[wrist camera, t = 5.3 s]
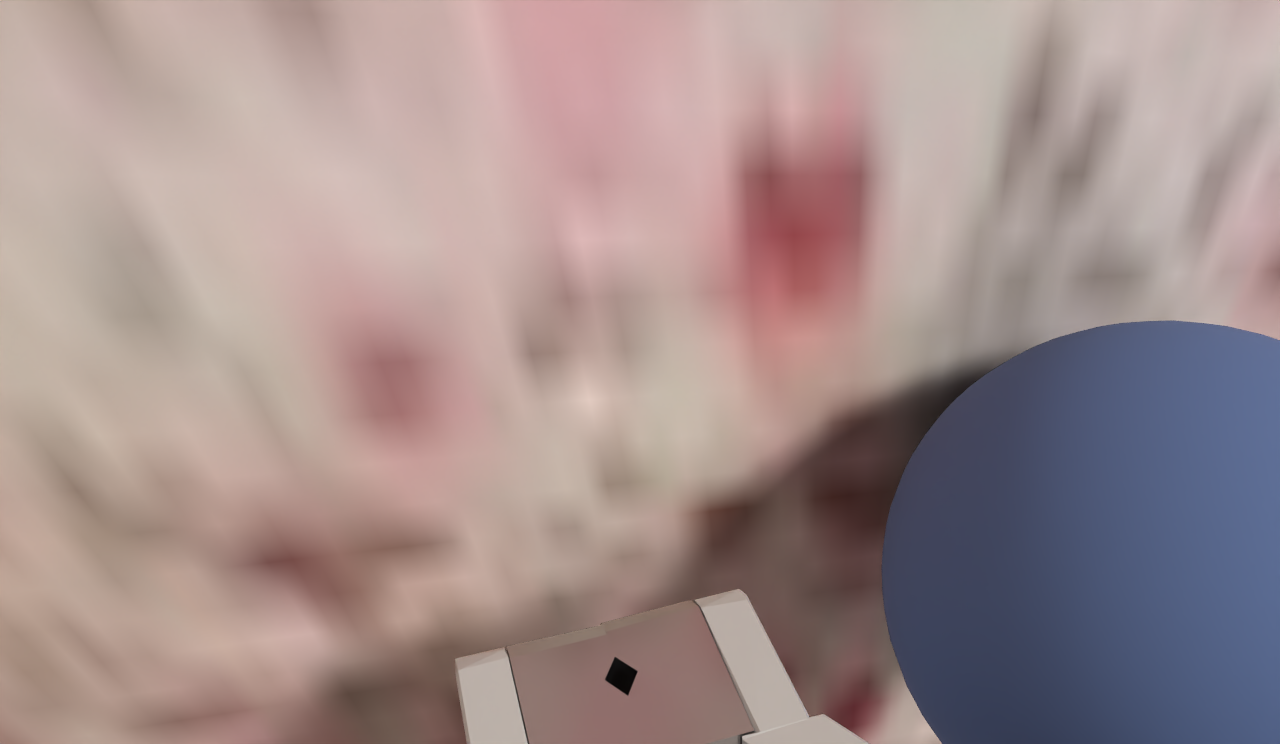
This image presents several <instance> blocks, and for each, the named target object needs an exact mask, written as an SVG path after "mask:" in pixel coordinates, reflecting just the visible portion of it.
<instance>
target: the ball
mask: <svg viewBox="0 0 1280 744" xmlns="http://www.w3.org/2000/svg"><path fill="white" fill-rule="evenodd" d="M882 591H883V601H884V610H885V616H886V621H887V626H888V630H889V635H890V640H891V643H892V646H893V649H894V652H895V655H896V657H897V660H898V663H899V666H900V668H901V671H902V674H903V677H904V679H905V682H906V685H907V687H908V689H909V691H910V693H911V695H912V696H913V698H914V700H915V702H916V704H917V706H918V708H919V710H920V711H921V713H922V715H923V717H924V718H925V720H926V721H927V723H928V724H929V726H930V727H931V729H932V730H933V731H934V733H935V734H936V735H937V737H938V738H939V740H940V741H941V742H942V744H1280V340H1277V339H1274V338H1271V337H1268V336H1265V335H1262V334H1258V333H1253V332H1249V331H1245V330H1241V329H1236V328H1232V327H1228V326H1220V325H1213V324H1205V323H1194V322H1182V321H1145V322H1131V323H1119V324H1113V325H1107V326H1100V327H1096V328H1092V329H1088V330H1084V331H1080V332H1076V333H1072V334H1069V335H1065V336H1062V337H1058V338H1055V339H1052V340H1050V341H1047V342H1045V343H1042V344H1040V345H1037V346H1035V347H1033V348H1031V349H1029V350H1027V351H1025V352H1023V353H1021V354H1019V355H1017V356H1015V357H1013V358H1011V359H1010V360H1008V361H1006V362H1004V363H1003V364H1001V365H1000V366H998V367H996V368H995V369H993V370H992V371H990V372H988V373H987V374H986V375H984V376H983V377H982V378H980V379H979V380H977V381H976V382H975V383H973V384H972V385H971V386H970V387H969V388H967V389H966V390H965V391H964V392H963V393H962V394H961V395H960V396H958V397H957V398H956V399H955V400H954V401H953V402H952V403H951V404H950V405H949V407H948V408H947V409H946V410H945V411H944V412H943V413H942V414H941V415H940V417H939V418H938V419H937V420H936V422H935V423H934V424H933V425H932V427H931V428H930V429H929V430H928V432H927V433H926V434H925V436H924V437H923V439H922V440H921V442H920V443H919V445H918V446H917V448H916V449H915V451H914V452H913V454H912V456H911V458H910V460H909V462H908V464H907V466H906V468H905V470H904V472H903V474H902V477H901V480H900V482H899V485H898V488H897V490H896V493H895V496H894V499H893V501H892V504H891V507H890V511H889V515H888V520H887V524H886V530H885V537H884V544H883V554H882Z"/></svg>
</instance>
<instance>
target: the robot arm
mask: <svg viewBox="0 0 1280 744" xmlns="http://www.w3.org/2000/svg"><path fill="white" fill-rule="evenodd" d="M506 651H507V652H506ZM455 675H456V681H457V687H458V693H459V699H460V705H461V711H462V717H463V724H464V730H465V736H466V742H467V744H869V743H868V742H866V741H865V740H863V739H862V738H860V737H859V736H857V735H856V734H854V733H852V732H851V731H849V730H848V729H846V728H845V727H843V726H842V725H840V724H839V723H837V722H836V721H834V720H832V719H831V718H829V717H828V716H826V715H825V714H820V715H816V716H811V717H809V715H808V713H807V711H806V709H805V707H804V705H803V703H802V701H801V699H800V697H799V695H798V693H797V692H796V690H795V688H794V686H793V684H792V682H791V680H790V678H789V676H788V674H787V672H786V670H785V668H784V666H783V664H782V662H781V660H780V659H779V657H778V655H777V653H776V651H775V649H774V647H773V645H772V643H771V641H770V639H769V637H768V635H767V633H766V631H765V629H764V627H763V625H762V624H761V622H760V620H759V618H758V616H757V614H756V612H755V610H754V608H753V606H752V604H751V602H750V600H749V598H748V596H747V595H746V594H745V593H744V592H742V591H741V590H740V589H735V590H731V591H727V592H723V593H719V594H715V595H712V596H708V597H704V598H700V599H696V600H693V601H691V600H687V601H683V602H680V603H676V604H672V605H668V606H665V607H661V608H657V609H653V610H649V611H646V612H642V613H638V614H634V615H630V616H627V617H623V618H619V619H615V620H612V621H608V622H604V623H601V624H600V626H595V627H591V628H586V629H582V630H577V631H573V632H568V633H564V634H559V635H555V636H550V637H546V638H541V639H537V640H532V641H528V642H523V643H519V644H514V645H510V646H507V648H506V649H505V647H502V648H498V649H493V650H489V651H485V652H481V653H477V654H472V655H468V656H464V657H460V658H456V659H455Z"/></svg>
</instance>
